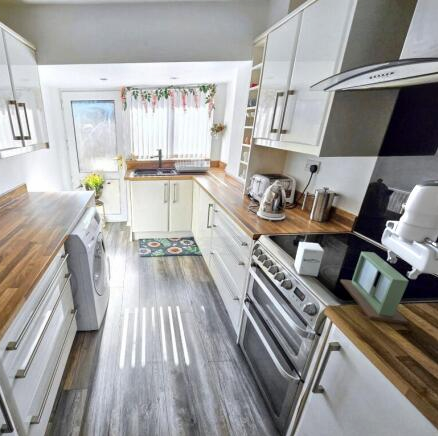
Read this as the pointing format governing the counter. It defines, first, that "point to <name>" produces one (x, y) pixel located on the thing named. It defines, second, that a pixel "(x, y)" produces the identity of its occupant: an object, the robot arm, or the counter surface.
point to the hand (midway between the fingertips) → (400, 269)
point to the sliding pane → (381, 287)
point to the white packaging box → (308, 258)
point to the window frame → (364, 288)
